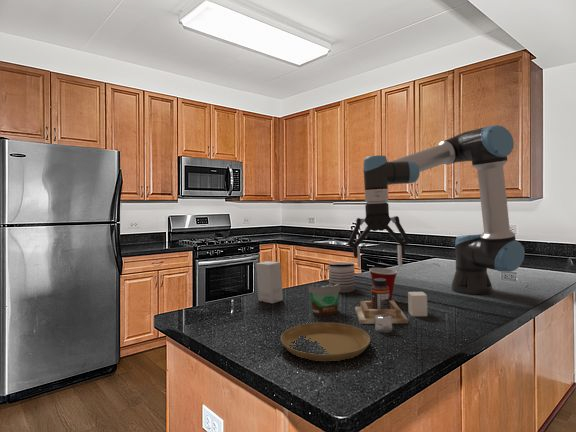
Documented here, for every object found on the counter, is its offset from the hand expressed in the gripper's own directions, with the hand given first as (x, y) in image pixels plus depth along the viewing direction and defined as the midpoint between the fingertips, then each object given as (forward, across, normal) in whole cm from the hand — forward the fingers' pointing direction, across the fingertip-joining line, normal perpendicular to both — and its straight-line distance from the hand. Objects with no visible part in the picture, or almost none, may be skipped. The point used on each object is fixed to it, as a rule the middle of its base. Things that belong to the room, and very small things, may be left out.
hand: (379, 266), depth 126 cm
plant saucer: (+17, -20, -26) cm, 37 cm away
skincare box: (+17, -41, +22) cm, 49 cm away
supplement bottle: (+16, 0, 0) cm, 16 cm away
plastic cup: (+18, +4, +20) cm, 27 cm away
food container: (+17, -18, +4) cm, 25 cm away
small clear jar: (+17, -2, -13) cm, 22 cm away
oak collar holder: (+17, -1, 0) cm, 17 cm away
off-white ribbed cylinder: (+17, -11, +39) cm, 44 cm away
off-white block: (+17, +12, +2) cm, 21 cm away
